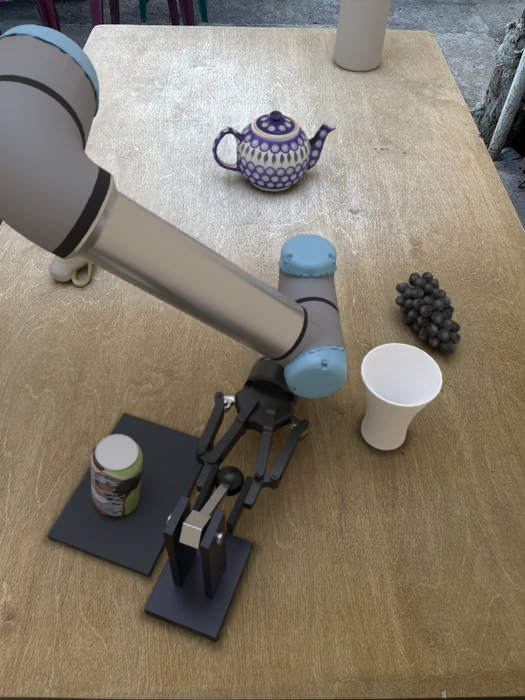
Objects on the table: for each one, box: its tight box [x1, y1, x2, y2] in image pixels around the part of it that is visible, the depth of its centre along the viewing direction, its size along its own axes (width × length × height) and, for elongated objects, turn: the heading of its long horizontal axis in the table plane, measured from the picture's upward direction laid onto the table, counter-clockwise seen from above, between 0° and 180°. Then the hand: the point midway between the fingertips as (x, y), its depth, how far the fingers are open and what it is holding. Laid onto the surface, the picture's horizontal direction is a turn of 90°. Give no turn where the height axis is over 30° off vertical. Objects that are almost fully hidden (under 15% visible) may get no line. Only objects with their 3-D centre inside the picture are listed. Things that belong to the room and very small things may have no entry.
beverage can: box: [90, 434, 143, 518], centre depth 77 cm, size 6×7×12 cm
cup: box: [360, 342, 443, 451], centre depth 85 cm, size 10×10×14 cm
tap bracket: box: [143, 495, 254, 643], centre depth 70 cm, size 12×9×16 cm
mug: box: [48, 255, 94, 287], centre depth 109 cm, size 8×10×10 cm
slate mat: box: [46, 412, 214, 578], centre depth 83 cm, size 14×20×1 cm
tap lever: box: [179, 465, 245, 549], centre depth 70 cm, size 14×4×4 cm
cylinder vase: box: [333, 0, 392, 72], centre depth 158 cm, size 12×12×25 cm
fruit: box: [394, 271, 461, 356], centre depth 101 cm, size 9×8×15 cm
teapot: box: [211, 110, 337, 192], centre depth 126 cm, size 25×15×15 cm, turn 98°
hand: (212, 522), depth 72 cm, fingers closed on tap lever, 4 cm apart
